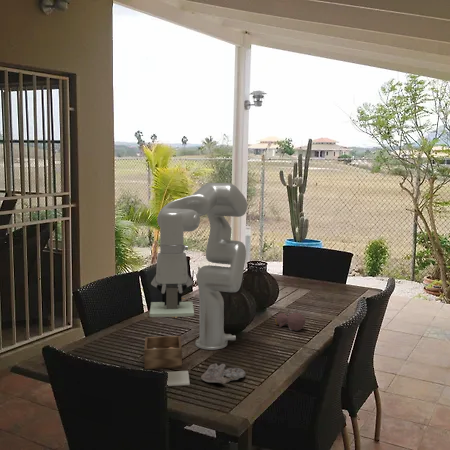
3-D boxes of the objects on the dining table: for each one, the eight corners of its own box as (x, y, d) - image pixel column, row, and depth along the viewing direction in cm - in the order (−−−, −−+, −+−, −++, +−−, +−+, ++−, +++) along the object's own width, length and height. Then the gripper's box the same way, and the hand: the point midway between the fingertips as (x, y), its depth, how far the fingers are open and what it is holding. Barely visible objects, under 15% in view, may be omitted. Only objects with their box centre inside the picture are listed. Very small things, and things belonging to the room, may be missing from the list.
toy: (276, 332, 234) (304, 336, 223) (269, 319, 231) (296, 322, 220) (286, 319, 239) (312, 322, 228) (278, 306, 235) (305, 308, 225)
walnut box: (180, 353, 199) (180, 335, 198) (181, 367, 187) (181, 348, 186) (145, 355, 198) (145, 337, 197) (144, 369, 185) (144, 349, 184)
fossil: (243, 370, 188) (200, 374, 187) (242, 360, 188) (200, 364, 187) (248, 385, 170) (201, 390, 170) (247, 374, 170) (200, 379, 170)
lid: (192, 304, 182) (192, 281, 181) (194, 316, 168) (194, 291, 167) (151, 305, 181) (151, 282, 180) (149, 317, 167) (149, 292, 166)
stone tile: (188, 372, 182) (188, 370, 182) (189, 384, 173) (189, 383, 172) (158, 373, 181) (158, 372, 181) (158, 386, 171) (158, 384, 171)
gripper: (196, 247, 177) (196, 301, 179) (146, 247, 175) (147, 301, 177) (198, 251, 169) (197, 307, 171) (145, 251, 168) (145, 307, 170)
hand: (171, 303), depth 174 cm, fingers closed on lid, 3 cm apart
